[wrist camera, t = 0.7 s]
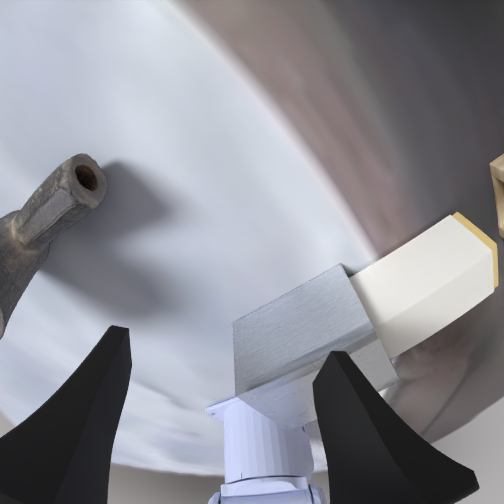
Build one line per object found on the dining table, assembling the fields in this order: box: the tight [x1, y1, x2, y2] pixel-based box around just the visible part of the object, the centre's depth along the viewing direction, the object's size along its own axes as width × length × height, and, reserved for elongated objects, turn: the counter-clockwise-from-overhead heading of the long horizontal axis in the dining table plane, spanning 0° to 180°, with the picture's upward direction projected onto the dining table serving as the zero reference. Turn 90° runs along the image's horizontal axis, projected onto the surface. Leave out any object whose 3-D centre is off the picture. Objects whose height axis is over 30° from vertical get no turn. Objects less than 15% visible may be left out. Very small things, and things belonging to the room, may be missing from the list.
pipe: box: [0, 153, 108, 339], centre depth 14 cm, size 6×13×8 cm, turn 120°
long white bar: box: [349, 212, 498, 359], centre depth 19 cm, size 4×17×5 cm, turn 124°
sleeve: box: [233, 263, 400, 430], centre depth 20 cm, size 7×9×6 cm
